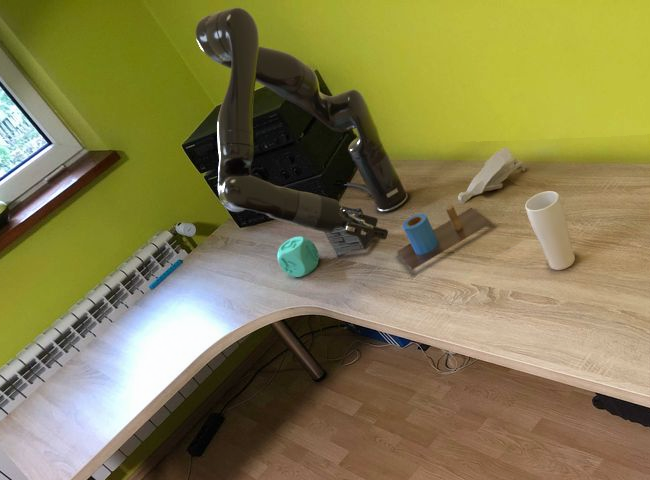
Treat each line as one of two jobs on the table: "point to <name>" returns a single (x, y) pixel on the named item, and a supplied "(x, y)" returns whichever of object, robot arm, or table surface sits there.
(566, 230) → the drinking glass
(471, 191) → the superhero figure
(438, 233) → the tape rack
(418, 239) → the tape roll
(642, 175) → the table surface
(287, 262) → the decorative dice
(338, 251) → the small box
